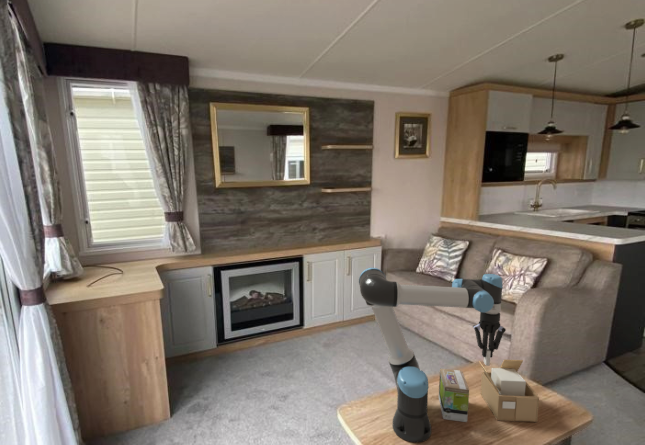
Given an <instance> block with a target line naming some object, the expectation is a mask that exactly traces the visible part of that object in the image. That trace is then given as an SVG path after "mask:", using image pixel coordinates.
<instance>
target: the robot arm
mask: <svg viewBox="0 0 645 445" xmlns="http://www.w3.org/2000/svg"><path fill="white" fill-rule="evenodd" d="M358 285H359V289H360V291H359V292H360V294H361V297H362V299H364V301H365V303H366V305H367V306H368V307H371V309H372V312H373V314H374V317H375V320H376V322H377V324H378V327H379V330H380V332H381V336H382V338H383V340H384V343H385V346H386V349H387V352H388V354H389V355H388V358H387V360H388V363H389V367H390V369H391V373H392V375H393V378H394V382H395V386H396V392H397V398H396V399H397V403H396V404H397V408H396V410H395V413H394V415H393V416H392V417H393V418H392V429H393V432H394V433H395V434H396V435H397V437H399V438H401V439H402V440H404V441H406V442H409V443H423V442H425V441H427V440H428V439H430V437H431V434H432V425H431V421H430V418H429V414H428V404H429V403H428V398H429V397H428V396H429V385H430V384H429V378H428V376H427V374H426V372H424V371H423V370H421V368H420V366H419V362H418V360H417V358H416V355H415V353H414V351H413V350H412V349H410V348H409V347H408V344H407V342H406V338H405V336H404V333H403V330H402V328H401V324H400V323H399V320H398V317H397V314H396V312H395V309H394V308H397V307H398V306H399V305H402V306H403V305H405V306H422V307H423V306H425V307H426V306H427V307H440V308H441V307H443V308H460V309H461V308H463V309H474V310H475V311H477V312H478V313H479V312H480V313H479V314H480V315H479V321H478V323H477V324H476V325H475V324H474V325H472V328H473V329H474V332H475V338H476V342H477V346H478V348H479V349H480V350H482V351H481V356H482V357H483V363H484V365H485V366H486V367H488V366H490V364H491V359H492V358H493V354H494V353H493V352H495V350H496V351H497V350H499V348H500V347H499V346H500V344H501V341H502V337H503V336H504V333H505V332H506V331H507V329H506V328H505V327H504V326H502V325H501V322H500V320H501V307H502V296H503V288H504V287H503V277H502V276H500V275H498V274H494V273H493V274H492V273H485V274H483V275H482V277H481V278H479V279H474V278H473V279H472V278H455V279H454V280H452V282H451V286H438V285H436V286H434V285H419V284H418V285H415V284H414V285H412V284H399V283H398V281H391V280H388V279H387V276H386V274H385V273H384V272H383V271H382V270H381V269H380V268H377V267H369V268H365V269H364V270H363V271H362V272H361V273H360V275H359V277H358ZM481 330H482V334H481V332H480V331H481ZM481 335H482V337H481Z"/></svg>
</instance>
